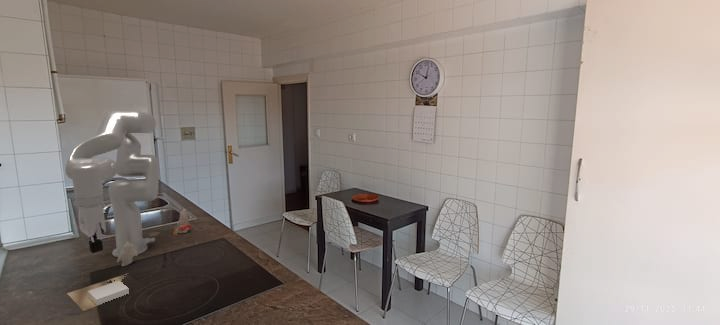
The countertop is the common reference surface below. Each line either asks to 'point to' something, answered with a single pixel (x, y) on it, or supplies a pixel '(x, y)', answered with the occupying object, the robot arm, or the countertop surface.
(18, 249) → the countertop surface
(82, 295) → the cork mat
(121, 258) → the arrowhead
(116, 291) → the tile
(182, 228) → the figurine
